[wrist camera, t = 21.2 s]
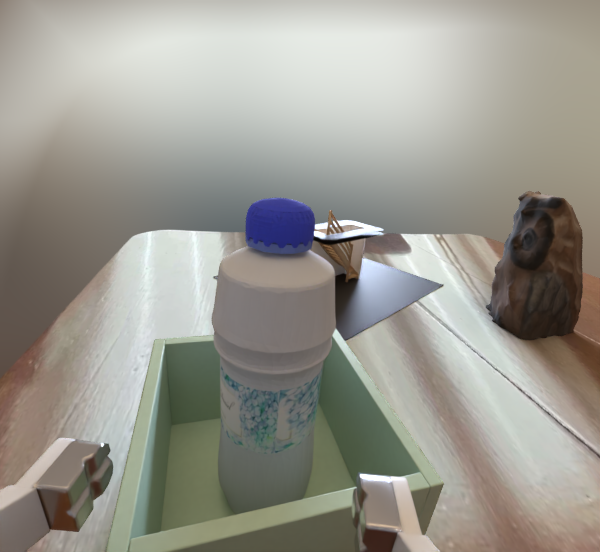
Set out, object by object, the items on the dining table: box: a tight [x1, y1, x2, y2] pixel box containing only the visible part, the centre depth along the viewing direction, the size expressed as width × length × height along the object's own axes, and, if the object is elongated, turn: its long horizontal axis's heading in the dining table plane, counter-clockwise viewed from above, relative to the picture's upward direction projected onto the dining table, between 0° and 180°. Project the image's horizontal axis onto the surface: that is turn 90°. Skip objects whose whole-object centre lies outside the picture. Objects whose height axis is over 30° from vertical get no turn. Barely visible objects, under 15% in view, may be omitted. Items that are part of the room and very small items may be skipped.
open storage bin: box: [105, 328, 444, 552], centre depth 22 cm, size 15×15×9 cm
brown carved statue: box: [486, 191, 583, 340], centre depth 50 cm, size 13×13×20 cm
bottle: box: [212, 198, 336, 514], centre depth 19 cm, size 7×7×20 cm
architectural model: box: [214, 210, 443, 341], centre depth 59 cm, size 35×28×14 cm
